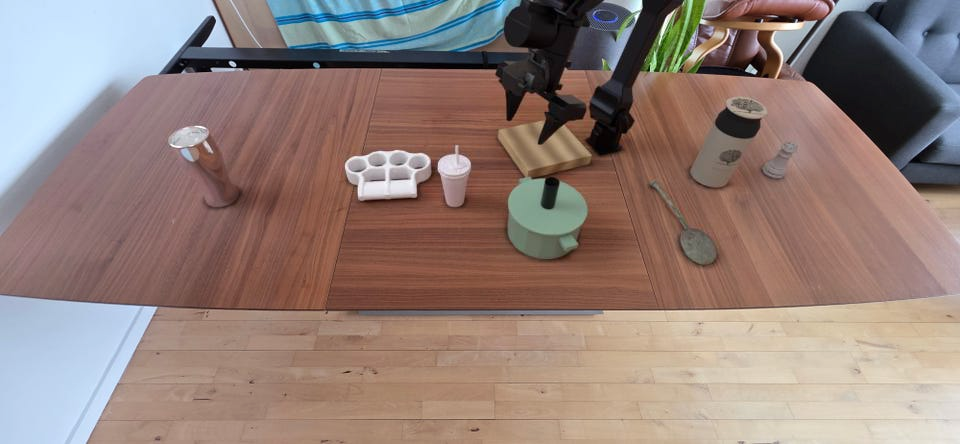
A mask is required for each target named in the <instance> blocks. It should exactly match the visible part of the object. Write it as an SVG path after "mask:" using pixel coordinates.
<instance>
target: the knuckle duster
mask: <svg viewBox="0 0 960 444" xmlns="http://www.w3.org/2000/svg"><path fill="white" fill-rule="evenodd" d="M344 169H345V173H346V177H347V180H348V182H349V183H351V184H352V185H353V186H357V199H358V201H361V202H363V201H372V200H374V201H375V200H393V199H406V198H407V199H408V198H413V199H415V198H417V197H418V185H419V184H420V183H423V182H425V181H427V180H428V179H430V177H431V175H432V161H431V158H430V156H429V155H427V154H426V153H423V152H417V153H412V152H407V151H406V150H399V149H395V150H390V151H385V150H378V151H372V152H371V153H368V154H366V155H354V156H351V157H350V158H349V159H347V161H346V162H345V164H344Z"/></svg>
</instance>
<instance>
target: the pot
mask: <svg viewBox="0 0 960 444" xmlns="http://www.w3.org/2000/svg"><path fill="white" fill-rule="evenodd" d="M529 180H533V178H531V177H530V176H529V177H525V176H524V177H522V178H519V179H518V185H519V184H521V183H523V182H525V181H529ZM581 228H582V225H581V226H580V227H579V228H578V229H577V230H575V231H573V232H571V233H569V234H565V235H560V236H545V235H540V234H536V233H533V232H531V231H529V230H527V229H525V228H523V227H522V226H520V225H519V224H518V223H517V222H516V221H515V220H514V219H513V218H512V216H511V214H510V212H509V211H508V216H507V235H508V239H509V240H510V242H511V244H512V245H513V247H515V248H516V249H517V250H518V251H519V252H521V253H522V254H524V255H526V256H529V257H532V258H536V259H539V260H553V259H559V258H561V257H563V256H565V255H568V254H569V253H570V252H571V251H572V250H575V249H578V247H579V243H578V241H577V240H578V238H579V235H580V231H581Z"/></svg>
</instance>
